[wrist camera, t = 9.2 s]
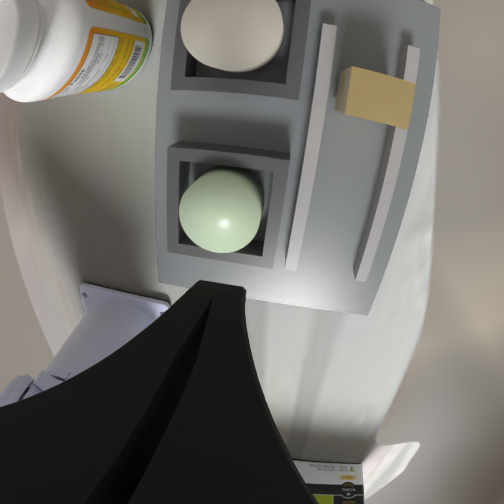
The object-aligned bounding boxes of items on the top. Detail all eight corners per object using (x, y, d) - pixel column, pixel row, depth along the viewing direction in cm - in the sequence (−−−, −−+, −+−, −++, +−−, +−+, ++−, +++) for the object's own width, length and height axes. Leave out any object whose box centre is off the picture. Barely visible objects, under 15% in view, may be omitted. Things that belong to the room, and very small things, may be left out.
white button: (279, 76, 11) (276, 73, 9) (194, 70, 12) (176, 67, 10) (288, 0, 10) (287, -16, 8) (202, -4, 10) (186, -18, 8)
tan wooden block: (385, 121, 12) (407, 130, 10) (334, 109, 12) (344, 114, 10) (391, 84, 11) (415, 83, 9) (339, 71, 11) (351, 66, 9)
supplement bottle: (74, 26, 13) (-49, 21, 5) (150, -5, 12) (35, -54, 4) (83, 101, 16) (-43, 134, 7) (160, 77, 15) (36, 81, 6)
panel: (362, 295, 20) (372, 332, 17) (169, 265, 21) (149, 297, 17) (425, 15, 11) (454, 2, 8) (185, -20, 12) (160, -41, 8)
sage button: (259, 237, 16) (254, 258, 14) (192, 226, 16) (179, 246, 15) (268, 169, 14) (264, 182, 13) (195, 160, 15) (179, 172, 13)
